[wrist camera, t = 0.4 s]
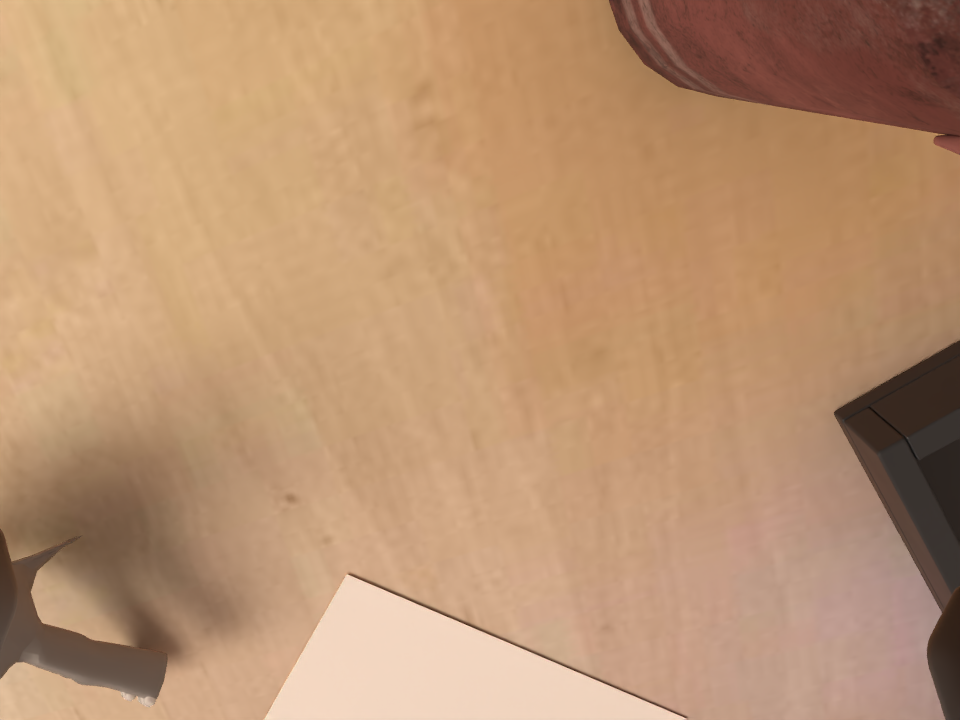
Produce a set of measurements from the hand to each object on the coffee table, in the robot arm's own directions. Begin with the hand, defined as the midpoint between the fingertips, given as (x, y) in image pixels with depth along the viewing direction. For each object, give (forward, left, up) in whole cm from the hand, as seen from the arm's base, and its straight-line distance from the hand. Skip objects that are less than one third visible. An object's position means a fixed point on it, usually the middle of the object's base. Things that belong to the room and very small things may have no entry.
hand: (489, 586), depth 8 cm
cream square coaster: (-11, -14, -14) cm, 23 cm away
